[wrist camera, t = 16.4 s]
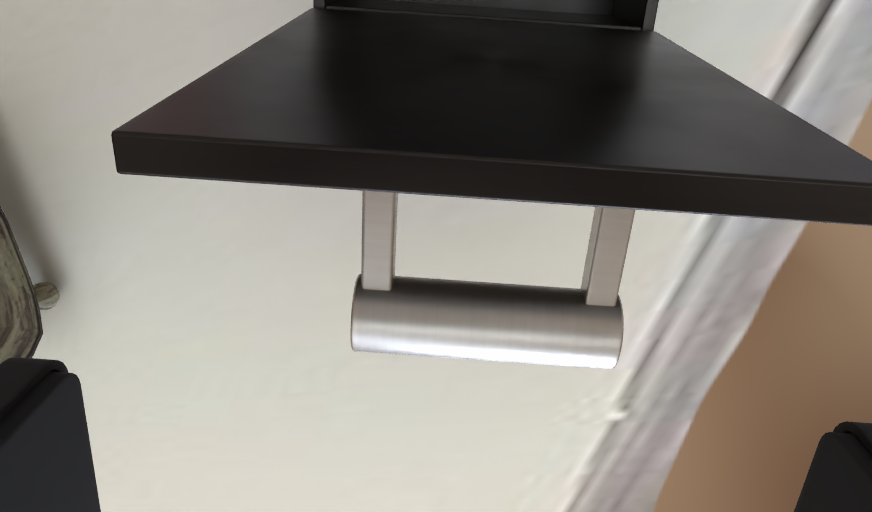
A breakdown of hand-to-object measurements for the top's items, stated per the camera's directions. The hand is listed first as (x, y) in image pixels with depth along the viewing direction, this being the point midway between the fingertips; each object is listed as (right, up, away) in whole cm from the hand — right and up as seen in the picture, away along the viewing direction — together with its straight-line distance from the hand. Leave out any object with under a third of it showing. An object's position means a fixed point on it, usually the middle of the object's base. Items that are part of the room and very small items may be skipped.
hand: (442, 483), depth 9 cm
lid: (+2, +8, +11) cm, 14 cm away
